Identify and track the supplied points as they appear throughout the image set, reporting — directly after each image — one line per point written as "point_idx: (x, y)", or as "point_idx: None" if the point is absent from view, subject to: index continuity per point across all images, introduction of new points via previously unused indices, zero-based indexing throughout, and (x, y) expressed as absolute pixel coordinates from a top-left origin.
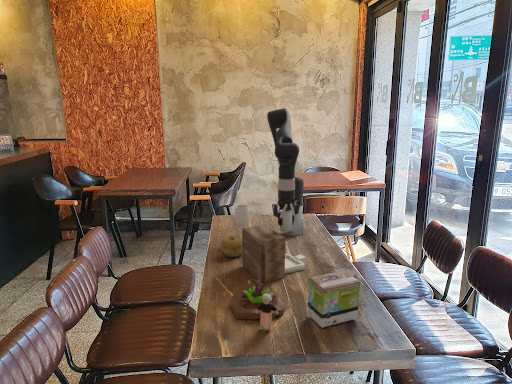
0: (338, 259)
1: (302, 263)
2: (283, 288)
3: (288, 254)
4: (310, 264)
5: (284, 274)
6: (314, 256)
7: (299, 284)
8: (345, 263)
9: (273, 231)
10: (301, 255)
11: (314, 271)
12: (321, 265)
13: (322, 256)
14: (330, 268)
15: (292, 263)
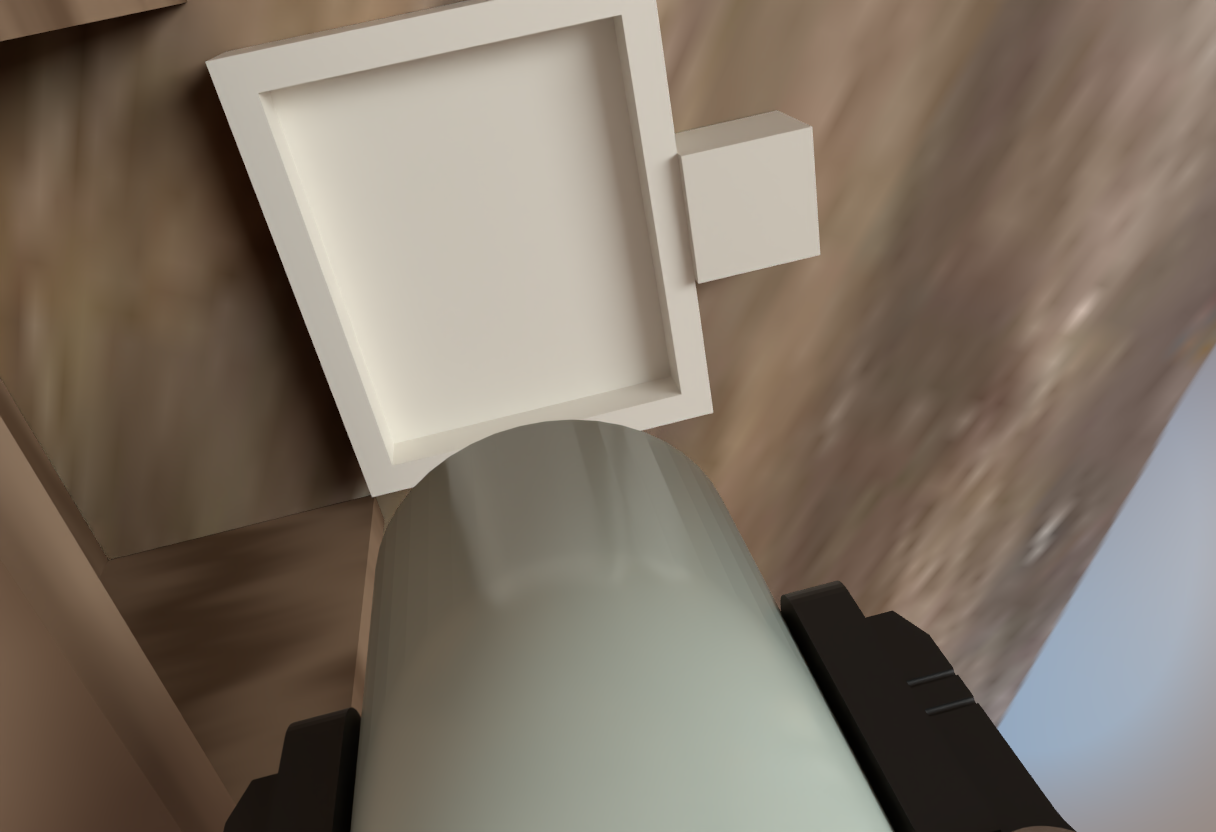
0: (1211, 224)
1: (690, 390)
2: None
3: (634, 12)
4: (825, 273)
5: (379, 542)
6: (1026, 27)
7: None
8: (1187, 348)
9: (94, 774)
10: (799, 163)
11: (766, 455)
12: (926, 332)
13: (1119, 66)
14: (963, 425)
15: (595, 252)
